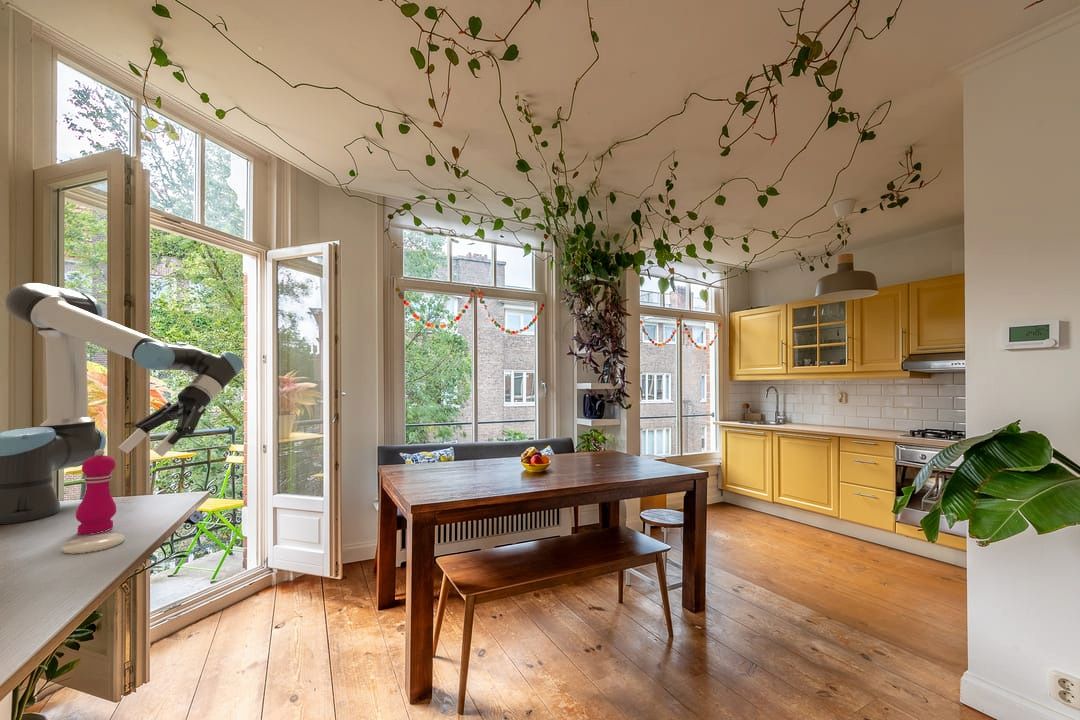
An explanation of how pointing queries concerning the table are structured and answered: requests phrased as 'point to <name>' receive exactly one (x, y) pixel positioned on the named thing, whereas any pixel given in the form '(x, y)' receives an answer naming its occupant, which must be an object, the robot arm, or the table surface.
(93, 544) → the cream dome
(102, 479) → the pepper mill
